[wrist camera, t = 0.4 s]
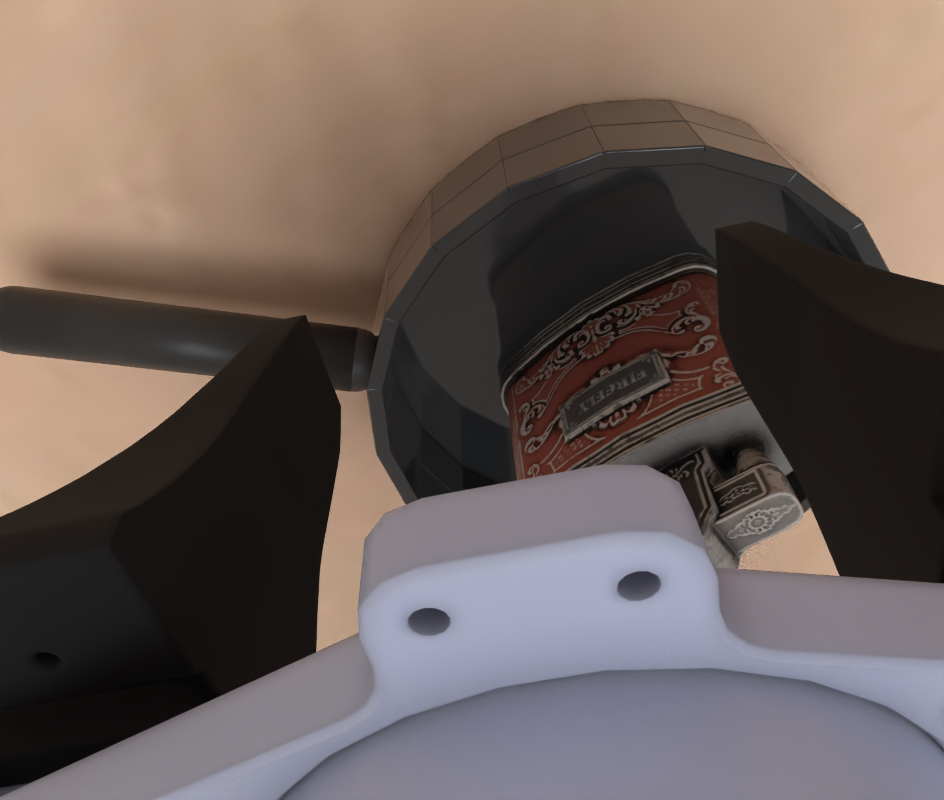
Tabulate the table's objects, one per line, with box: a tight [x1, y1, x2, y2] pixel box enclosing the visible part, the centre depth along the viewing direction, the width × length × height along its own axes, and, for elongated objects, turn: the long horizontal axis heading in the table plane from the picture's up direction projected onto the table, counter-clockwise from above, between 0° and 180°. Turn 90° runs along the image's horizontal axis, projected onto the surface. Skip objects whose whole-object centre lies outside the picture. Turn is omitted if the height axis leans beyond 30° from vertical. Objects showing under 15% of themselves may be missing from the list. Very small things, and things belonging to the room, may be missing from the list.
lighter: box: [499, 252, 804, 569], centre depth 22 cm, size 8×3×10 cm, turn 127°
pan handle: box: [0, 286, 376, 392], centre depth 22 cm, size 11×2×2 cm, turn 81°
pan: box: [367, 100, 890, 513], centre depth 25 cm, size 15×15×4 cm
